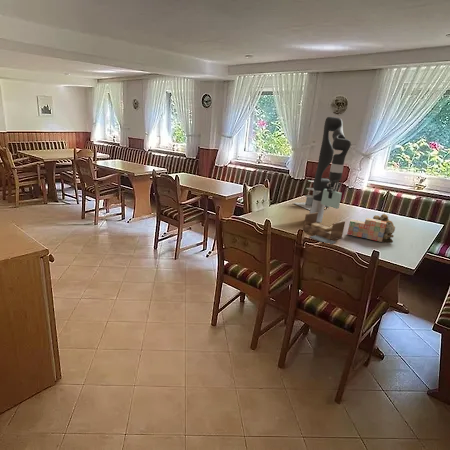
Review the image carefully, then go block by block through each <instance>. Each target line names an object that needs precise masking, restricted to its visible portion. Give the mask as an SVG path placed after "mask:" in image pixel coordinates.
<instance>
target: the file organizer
mask: <svg viewBox="0 0 450 450" xmlns="http://www.w3.org/2000/svg"><path fill="white" fill-rule="evenodd" d="M307 181H308V182H311V183H314V180H307ZM331 188H332V187H331ZM305 189H306V190H308V191H312V195H311V194H308V195H307V194H306V195H304V197H305V198H306V199H305V202H304V201H303V202H302V201H301V202H294V204H295V205H297V206H299V207H301V208H303V209H306V210H308V211H310V209H311V208H312V202H313V197H314V195H316V194H319V193H320V192H321V191H316V190H314V188H313V187H306V188H305ZM331 190H332V189H331ZM325 207H327V208H330V207H329V206H326V205H325Z"/></svg>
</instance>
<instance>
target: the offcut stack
mask: <svg viewBox="0 0 450 450" xmlns="http://www.w3.org/2000/svg"><path fill="white" fill-rule="evenodd" d="M318 223H319V222H316V223H312V224H311V226H312V227H314V228H317V229H320V230H323V231H326V232H328V233H331V231H330V230H331V228H332V227H330V226H328V227H326V226H327V225H325V226H323V225H324V224H322V223H319V224H318ZM321 224H322V225H321ZM329 227H330V228H329Z"/></svg>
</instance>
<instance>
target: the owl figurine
mask: <svg viewBox="0 0 450 450" xmlns="http://www.w3.org/2000/svg"><path fill="white" fill-rule="evenodd" d="M372 219H377V220H381V221H385V222H386V227H385V232H384V235H383V239H382V242H381V243H387V244H388V243H389V244H391V243H393V242H394V241H393V239H392V238H394V235H393V234H394V233H395V230H396V226H395V225H394V223H393V221H392V220H390V219H389V216H388V214H386V213H383V214H381V215H380V216H379V215H373V217H372Z"/></svg>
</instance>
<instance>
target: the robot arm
mask: <svg viewBox="0 0 450 450" xmlns="http://www.w3.org/2000/svg"><path fill="white" fill-rule="evenodd" d="M343 123H344V122H343V119H342V118H340V117H334V116H333V117H332V116H328V117H326V118H325V121H324V126H323V135H322V140H321V147H320V151H319V157H318V164H317V167H316V172H315V175H314V179H313V181H314V182H312V183H313V185H312V188H314V190H316V191H321V192H320V193H319V194H316V195H314V197H313V202H312V208H311V209H310V210H309V213H308V214H310V213H316V212H317V213H318V215H317V220H316V223H320V224H322V223H323V218H324V213H325V210H324V208H325V205H323V204H321V200H322V195H323V190H324V189H327V191H328V192H329V195H328V198H330V199H331V198H332V194H333V191H336V192H339V189H340V188H341V186H342V183H341V182H340V180H342V176H343V172H344V165H345V159H346V156H347V154H348V152H349V150H350V148H351V147H352V146H351V145H352V142H351V140H350V139H347V138H346V135H345V134H344V126H343ZM330 132H332V135H331V136H332V140H333V141H332V143H331V139H330ZM334 150H335V151H341V152H340V153H334V152H335V151H334ZM330 164H331V165H330ZM329 166H330V169H329V174H328V175H329V176H328V178H323V174H324V172H325V171H326V170H327V168H328V167H329ZM331 187H332V188H331ZM331 189H332V191H331Z"/></svg>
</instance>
